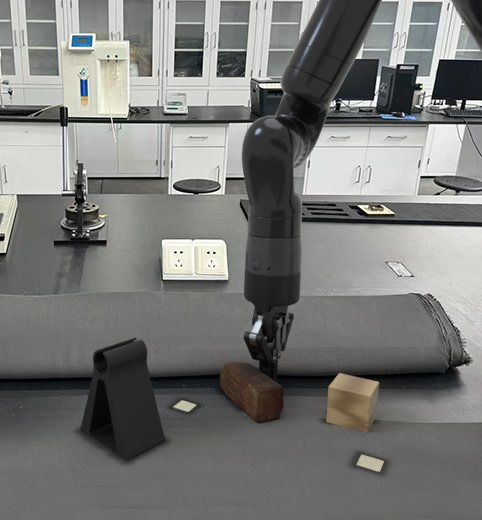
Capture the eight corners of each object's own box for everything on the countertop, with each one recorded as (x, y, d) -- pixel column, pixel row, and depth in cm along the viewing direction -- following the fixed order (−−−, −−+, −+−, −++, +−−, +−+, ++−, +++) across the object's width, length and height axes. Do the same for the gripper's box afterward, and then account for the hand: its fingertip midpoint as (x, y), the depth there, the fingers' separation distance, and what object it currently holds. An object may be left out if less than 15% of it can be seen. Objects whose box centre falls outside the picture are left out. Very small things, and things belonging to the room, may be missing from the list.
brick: (283, 419, 69) (285, 386, 68) (256, 425, 67) (257, 390, 67) (243, 386, 79) (243, 356, 78) (218, 390, 77) (219, 360, 76)
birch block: (376, 417, 69) (379, 381, 68) (367, 434, 65) (370, 396, 64) (336, 407, 72) (339, 372, 71) (325, 422, 68) (328, 386, 67)
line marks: (384, 462, 59) (384, 461, 59) (379, 473, 57) (379, 471, 57) (181, 401, 74) (181, 400, 74) (172, 408, 72) (172, 406, 72)
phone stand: (80, 431, 66) (77, 340, 64) (117, 415, 70) (115, 329, 68) (127, 462, 60) (125, 362, 57) (165, 442, 64) (165, 348, 61)
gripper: (281, 280, 65) (275, 409, 69) (315, 261, 76) (308, 374, 80) (226, 272, 70) (223, 394, 73) (265, 255, 80) (261, 362, 84)
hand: (267, 383), depth 76 cm, fingers closed
